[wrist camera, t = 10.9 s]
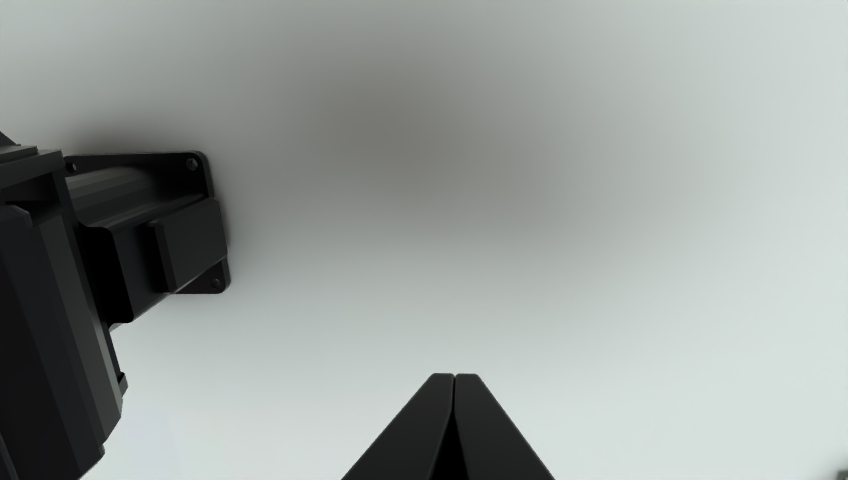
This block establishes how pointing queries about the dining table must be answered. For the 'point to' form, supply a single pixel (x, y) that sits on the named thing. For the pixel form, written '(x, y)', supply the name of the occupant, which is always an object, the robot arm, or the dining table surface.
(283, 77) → the dining table surface
